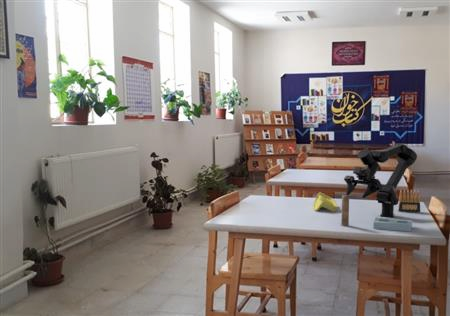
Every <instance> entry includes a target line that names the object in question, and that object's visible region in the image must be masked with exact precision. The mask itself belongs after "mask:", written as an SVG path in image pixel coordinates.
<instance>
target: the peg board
mask: <svg viewBox="0 0 450 316" xmlns="http://www.w3.org/2000/svg"><path fill="white" fill-rule="evenodd" d="M373 229H375V230H387V231H388V230H389V231H397V230H398V231H399V232H400V231H401V232H409V231H411V232H412V231H413V230H412V229H413V220H411V219H401V218H387V217H375V218H374V221H373ZM398 231H397V232H398Z"/></svg>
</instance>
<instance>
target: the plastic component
mask: <svg viewBox="0 0 450 316" xmlns="http://www.w3.org/2000/svg"><path fill="white" fill-rule="evenodd" d="M313 201H314V202H313V206H312V207H313V210H314V212H318V211H320V209H321V208H325V209H327V210H329V211H331V212H336V211H337V209H338V207H339V206H338V204H337V202H336V200H334V198H332V197H330V196H329V195H327V194H325V193H322V192H321V191H319V192H318V193H317V195H316V197H315V200H313Z"/></svg>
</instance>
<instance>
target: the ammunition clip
mask: <svg viewBox="0 0 450 316" xmlns="http://www.w3.org/2000/svg"><path fill="white" fill-rule="evenodd" d="M398 198H399V199H398V210H397V211H398V212H399V213H421V193H420V189H418V190H416V189H414V191H413V189H410V190H409V189H407V191H406V189H404V188H403V190H402V188H400V191H399V197H398Z"/></svg>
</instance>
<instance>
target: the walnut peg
mask: <svg viewBox="0 0 450 316" xmlns="http://www.w3.org/2000/svg"><path fill="white" fill-rule="evenodd" d="M349 208H350V194H349V195H346V194H343V195H341V226H342V227H348V226H350V225H349V224H350V223H349V217H350V216H349V215H350V212H349V211H350V209H349Z"/></svg>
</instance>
